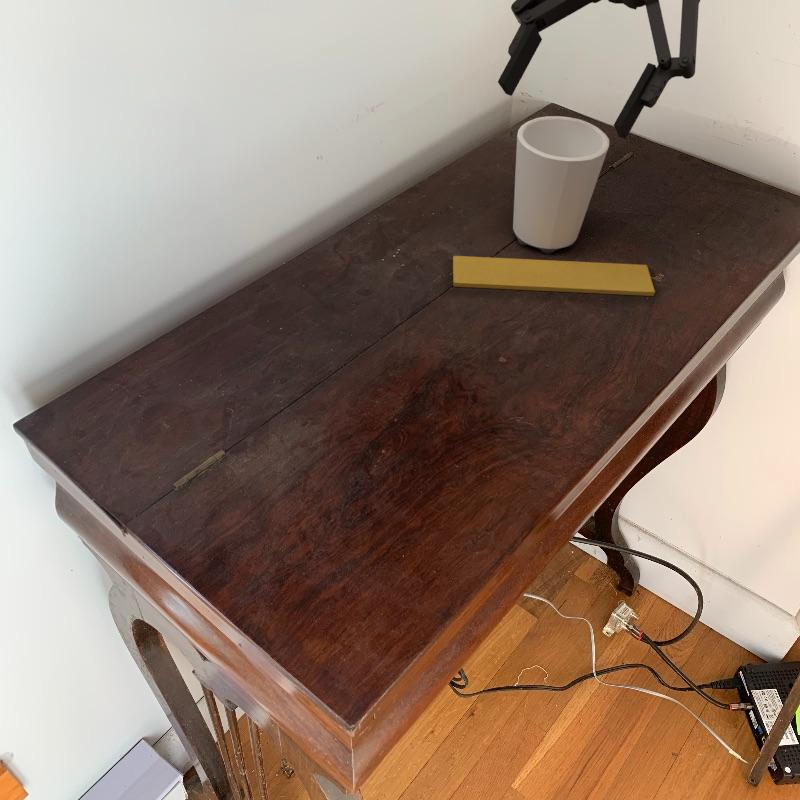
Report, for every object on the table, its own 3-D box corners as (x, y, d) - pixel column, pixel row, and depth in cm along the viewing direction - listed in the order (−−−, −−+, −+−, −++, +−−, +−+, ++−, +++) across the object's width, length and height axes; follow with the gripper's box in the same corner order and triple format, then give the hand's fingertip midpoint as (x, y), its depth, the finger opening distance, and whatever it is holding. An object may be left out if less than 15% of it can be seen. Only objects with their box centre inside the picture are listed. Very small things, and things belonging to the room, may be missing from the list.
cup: (580, 215, 99) (602, 117, 90) (592, 263, 92) (617, 161, 83) (499, 212, 99) (513, 113, 89) (505, 259, 92) (521, 158, 83)
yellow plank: (645, 269, 91) (647, 264, 91) (653, 296, 88) (655, 292, 88) (452, 259, 91) (453, 255, 91) (453, 286, 88) (453, 282, 88)
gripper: (792, -34, 77) (677, 167, 79) (568, -90, 87) (473, 89, 90) (793, -86, 70) (667, 135, 72) (550, -140, 81) (448, 55, 83)
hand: (559, 110), depth 81 cm, fingers open, 13 cm apart
